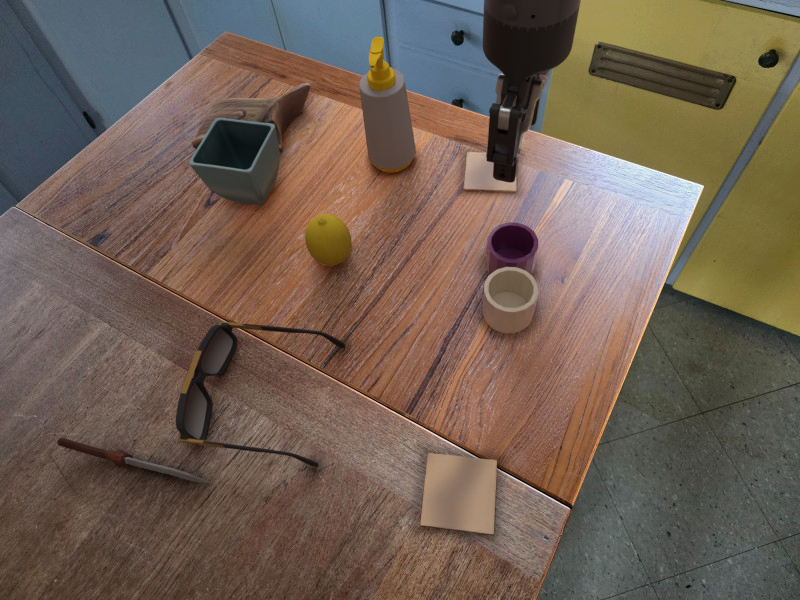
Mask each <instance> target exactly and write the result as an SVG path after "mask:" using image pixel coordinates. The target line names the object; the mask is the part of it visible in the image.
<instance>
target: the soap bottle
mask: <svg viewBox="0 0 800 600" xmlns="http://www.w3.org/2000/svg"><path fill="white" fill-rule="evenodd" d="M384 45H385V39H384V38H383V37H382V36H375V37H373V38H372V40H371V45H370V49H369V53H368V63H369V67H370V69H369V70H368V72H366V73H365V74H364V75H363V76H361V78H360V80H359V82H358V83H359V95H360V102H361V110H362V120H363V125H364V133H365V140H366V141H365V142H366V151H367V158H368V160H369V161H370V163H371V164H372V165H374V166H375V167H376V169H378V170H380V171H382V172H383V173H392V174H393V173H399V172H401V171H403V170H405V169H407V167H409V166H410V165H411V163H412V161H413V160H414V158H415V155H416V153H417V148H416V141H415V136H414V131H413V130H414V128H413V122H412V117H411V111H410V105H409V103H410V102H409V99H408V91H407V86H406V79H405V76H404V74H403V73H402V72H401V71H399V70H398V69H395V68H393V67H391V66H390V64H389V63H388V62H387V61H385V60H384V59H385V52H384Z"/></svg>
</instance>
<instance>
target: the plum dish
mask: <svg viewBox="0 0 800 600" xmlns="http://www.w3.org/2000/svg"><path fill="white" fill-rule="evenodd" d="M486 239H487V240H486V252H485V253H486V254H485V271H486V274H487V275H488V276H489V275H490V274H491V273H493V272H494V271H496V270H497V269H501V268H504V267H517V268H520V269H522V270H525V271H526V272H528V273H529V274H530V275H531V276H533V273H534V271H535V267H536V260H537V256H538V251H539V238H538V236H537V234H536V232H535V231H534V230H533V229H532V228H531V227H530V226H528V225H526V224H524V223H520V222H516V221H515V222H512V221H507V222H504V223H501V224H498V225H496V226H494V227H493V228H492V229H491V231H490V232H489V233H488V235H487V238H486ZM488 276H487V277H488Z"/></svg>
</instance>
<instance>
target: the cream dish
mask: <svg viewBox="0 0 800 600" xmlns="http://www.w3.org/2000/svg"><path fill="white" fill-rule="evenodd" d="M538 297H539V285H538V283H537V281H536V279H535V277H534V276H533V275H530V274H529V273H528V272H526V271H525V270H522V269H520V268H517V267H504V268H501V269H497V270H496V271H494V272H493V273H491V274H490V275H489V276H487V278H486V279H485V281H484V284H483V299H482V316H483V319H484V322H486V324H487V325H488V326H489V327H490V328H491V329H493V330H495V331H496V332H498V333H503V334H516V333H519V332H521V331H524V330H525V329H526V328H528V327H529V325H530V324H531V322H532V320H533V317H534V315H535V311H536V305H537V302H538Z"/></svg>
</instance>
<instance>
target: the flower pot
mask: <svg viewBox="0 0 800 600" xmlns="http://www.w3.org/2000/svg"><path fill="white" fill-rule="evenodd" d="M188 164H189V166H190V167H191V168H192V169H193V171H194V172H195V174H196V175H197V176H198V177H199V178H200V180H201V181H202V182H203V184H204V185H205V186H206V187H207V188H208V189H209V190H210V191H211V192H212V193H214V195H217V196H219V197H221V198H223V199H224V200H227V201H230V202H234V203H239V204H245V205H252V206H264V204H265V203H266V201H267V199H268V197H269V195H270V192H271V190H272V188H273V186H274V184H275V182H276V180H277V177H278V173H279V170H280V164H281V153H280V151H279V145H278V140H277V134H276V129H275V125H274V124H270V123H261V122H252V121H243V120H235V119H227V118H216V119H215V120H214V121H213V123H212V125H211V126H210V128H209V130H208V132H207V133H206V135H205V137H204V138H203V140H202V142H201V143H200V145H199V146H198V148H197V149H195V151H194V152H193V154H192V156H191V158H190V159H189V162H188Z"/></svg>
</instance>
